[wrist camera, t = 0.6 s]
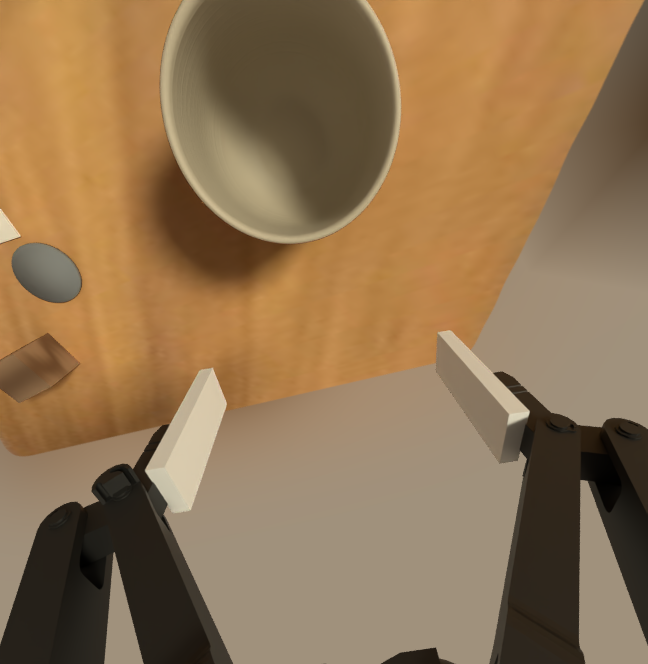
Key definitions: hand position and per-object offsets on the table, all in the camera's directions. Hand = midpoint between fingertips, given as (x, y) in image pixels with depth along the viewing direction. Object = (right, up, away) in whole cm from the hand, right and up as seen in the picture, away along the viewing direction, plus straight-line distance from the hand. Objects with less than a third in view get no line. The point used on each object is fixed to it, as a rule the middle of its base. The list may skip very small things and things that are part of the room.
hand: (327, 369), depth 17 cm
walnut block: (-42, -2, +28) cm, 51 cm away
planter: (-4, +24, +17) cm, 30 cm away
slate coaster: (-37, +10, +22) cm, 44 cm away
